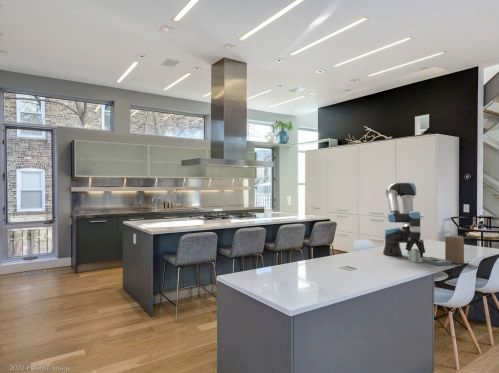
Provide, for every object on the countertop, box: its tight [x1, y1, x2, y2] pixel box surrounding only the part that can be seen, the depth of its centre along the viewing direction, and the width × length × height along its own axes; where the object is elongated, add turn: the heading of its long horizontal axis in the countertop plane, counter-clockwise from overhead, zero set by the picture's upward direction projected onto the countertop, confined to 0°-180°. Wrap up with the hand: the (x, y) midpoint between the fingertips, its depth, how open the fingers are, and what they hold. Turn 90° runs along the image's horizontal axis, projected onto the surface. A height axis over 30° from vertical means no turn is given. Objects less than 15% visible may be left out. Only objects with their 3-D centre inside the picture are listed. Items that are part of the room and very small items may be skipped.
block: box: [444, 235, 465, 265], centre depth 263 cm, size 10×10×20 cm
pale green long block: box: [410, 247, 420, 263], centre depth 265 cm, size 4×4×10 cm
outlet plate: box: [421, 256, 453, 267], centre depth 262 cm, size 18×14×2 cm
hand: (415, 260), depth 265 cm, fingers open, 9 cm apart
